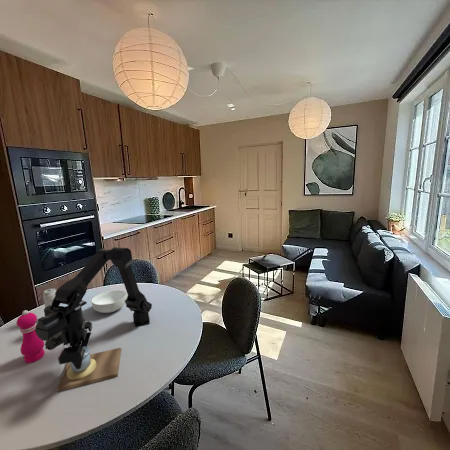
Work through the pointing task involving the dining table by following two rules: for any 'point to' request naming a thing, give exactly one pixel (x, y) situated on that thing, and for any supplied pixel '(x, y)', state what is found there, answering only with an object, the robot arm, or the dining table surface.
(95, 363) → the base
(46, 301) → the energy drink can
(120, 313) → the dining table surface
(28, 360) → the pepper mill
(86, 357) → the cap
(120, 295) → the cereal bowl
